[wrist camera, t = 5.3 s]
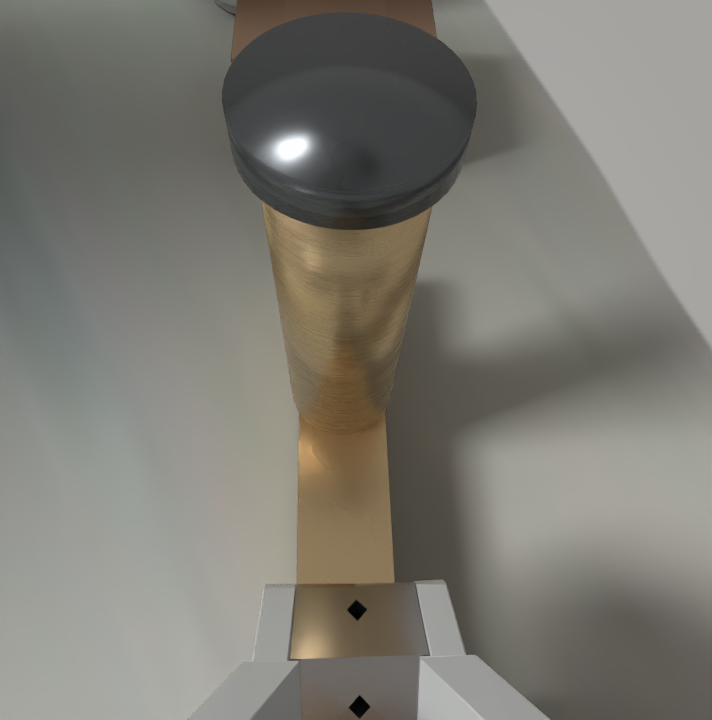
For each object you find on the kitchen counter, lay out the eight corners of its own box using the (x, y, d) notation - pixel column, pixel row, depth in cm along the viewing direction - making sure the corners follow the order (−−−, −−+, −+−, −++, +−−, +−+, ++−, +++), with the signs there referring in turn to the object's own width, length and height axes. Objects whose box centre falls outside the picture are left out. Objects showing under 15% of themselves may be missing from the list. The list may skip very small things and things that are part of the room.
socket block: (418, 179, 24) (440, 60, 20) (251, 179, 24) (230, 58, 19) (407, 69, 28) (423, -58, 23) (259, 67, 27) (242, -61, 22)
